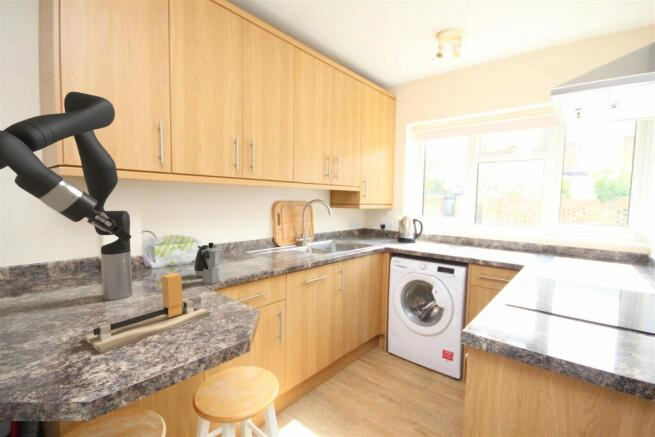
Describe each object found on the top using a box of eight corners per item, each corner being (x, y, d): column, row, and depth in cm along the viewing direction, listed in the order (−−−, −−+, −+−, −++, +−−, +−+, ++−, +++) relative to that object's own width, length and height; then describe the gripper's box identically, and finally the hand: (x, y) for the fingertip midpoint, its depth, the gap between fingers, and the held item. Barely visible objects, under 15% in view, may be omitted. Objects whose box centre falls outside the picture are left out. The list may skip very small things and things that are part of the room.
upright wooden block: (163, 314, 91) (161, 275, 90) (176, 310, 94) (174, 273, 93) (169, 317, 88) (167, 277, 88) (182, 313, 92) (181, 274, 91)
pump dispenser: (209, 272, 151) (208, 242, 150) (221, 275, 145) (220, 244, 144) (189, 276, 143) (188, 245, 142) (201, 279, 137) (200, 247, 136)
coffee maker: (208, 278, 140) (207, 240, 139) (227, 278, 140) (226, 240, 138) (193, 287, 125) (192, 245, 124) (213, 287, 125) (212, 245, 123)
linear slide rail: (85, 339, 79) (84, 321, 78) (190, 307, 102) (189, 293, 102) (100, 353, 72) (99, 333, 71) (209, 315, 95) (209, 300, 94)
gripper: (88, 190, 73) (146, 231, 84) (74, 188, 81) (129, 226, 92) (62, 213, 69) (127, 253, 81) (51, 209, 78) (111, 245, 89)
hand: (128, 238), depth 87 cm, fingers closed
